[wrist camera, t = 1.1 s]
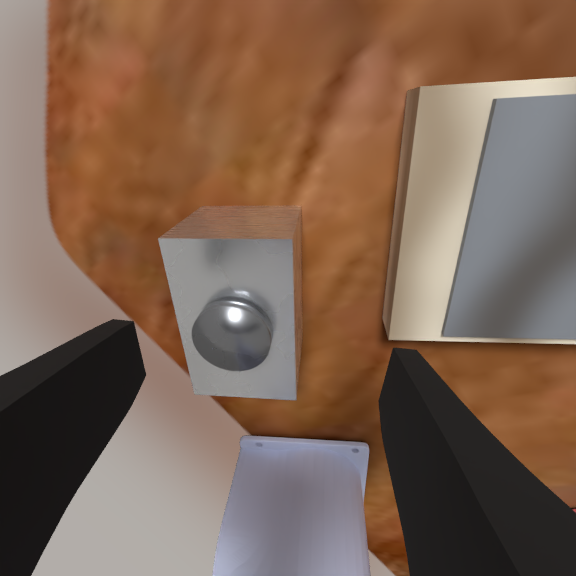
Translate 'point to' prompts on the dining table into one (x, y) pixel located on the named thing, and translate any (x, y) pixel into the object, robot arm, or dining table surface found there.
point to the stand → (485, 215)
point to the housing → (238, 298)
